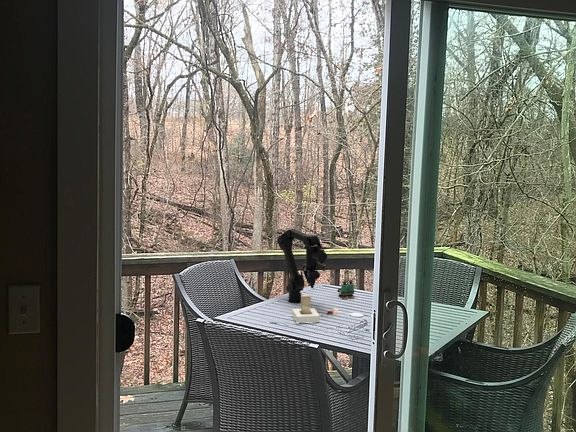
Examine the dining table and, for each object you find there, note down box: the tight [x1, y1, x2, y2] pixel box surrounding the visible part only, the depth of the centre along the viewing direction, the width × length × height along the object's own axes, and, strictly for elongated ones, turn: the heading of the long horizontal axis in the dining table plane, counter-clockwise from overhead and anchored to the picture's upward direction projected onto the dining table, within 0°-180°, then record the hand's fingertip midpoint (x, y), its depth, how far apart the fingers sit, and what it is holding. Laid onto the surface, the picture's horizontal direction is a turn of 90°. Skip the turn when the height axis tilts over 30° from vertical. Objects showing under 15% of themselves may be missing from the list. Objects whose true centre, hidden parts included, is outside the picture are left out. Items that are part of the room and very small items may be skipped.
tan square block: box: [300, 294, 312, 315], centre depth 323 cm, size 4×4×13 cm
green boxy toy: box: [337, 279, 355, 300], centre depth 361 cm, size 9×11×10 cm
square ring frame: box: [291, 307, 320, 323], centre depth 324 cm, size 12×12×4 cm
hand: (310, 285), depth 339 cm, fingers open, 9 cm apart
